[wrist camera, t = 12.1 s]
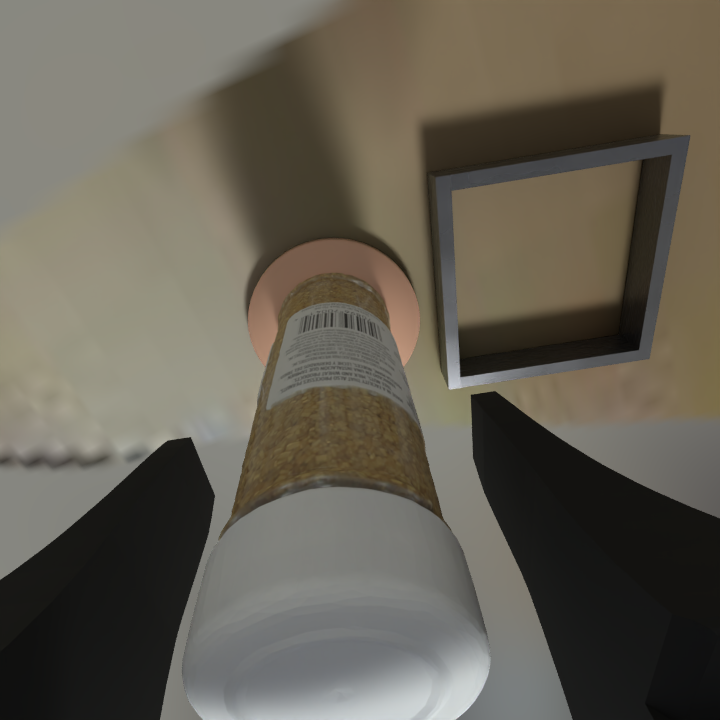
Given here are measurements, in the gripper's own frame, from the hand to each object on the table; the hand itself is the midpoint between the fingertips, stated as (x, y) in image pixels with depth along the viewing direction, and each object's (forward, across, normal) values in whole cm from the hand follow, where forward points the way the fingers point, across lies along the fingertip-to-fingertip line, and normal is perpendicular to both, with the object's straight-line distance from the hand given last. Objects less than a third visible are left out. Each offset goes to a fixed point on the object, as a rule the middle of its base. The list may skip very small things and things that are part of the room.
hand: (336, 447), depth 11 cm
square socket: (+8, -8, -1) cm, 12 cm away
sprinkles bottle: (+8, 0, 0) cm, 8 cm away
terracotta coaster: (+8, 0, 0) cm, 8 cm away
